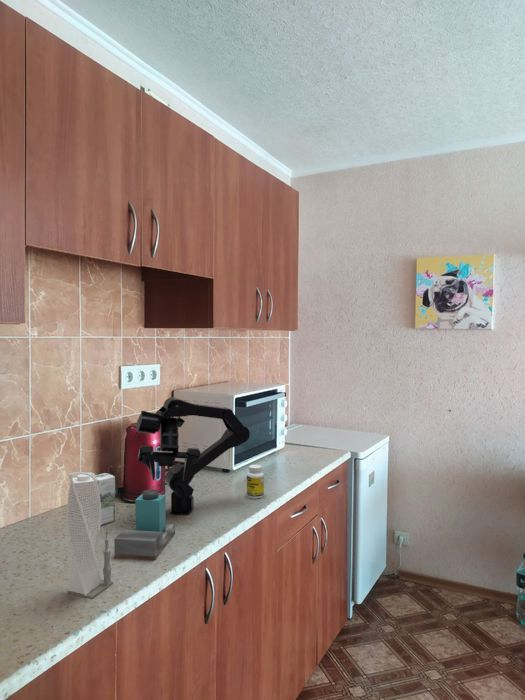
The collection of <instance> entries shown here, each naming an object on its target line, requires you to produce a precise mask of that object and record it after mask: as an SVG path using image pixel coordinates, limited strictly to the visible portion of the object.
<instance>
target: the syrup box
mask: <svg viewBox="0 0 525 700" xmlns="http://www.w3.org/2000/svg"><path fill="white" fill-rule="evenodd" d="M95 479H96V480H97V484H98V489H99V494H100V501H101V526H104V525H107V524H111V523H112V522H115V521H116V477H115V475H113V474H110V473H107V472H104V473H100V474H95Z"/></svg>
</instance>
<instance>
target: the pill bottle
mask: <svg viewBox="0 0 525 700" xmlns="http://www.w3.org/2000/svg"><path fill="white" fill-rule="evenodd" d="M264 478H265V473H264V472H263V466H262V465H260V464H251V465H249V466H248V472H247V473H246V496H247V497H248V498H249V499H252V500H253V499H254V500H257V499H258V498H259V499H261V498H263V497H264V495H265V494H264V493H265V488H264V487H265V484H264V483H265V479H264Z"/></svg>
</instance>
